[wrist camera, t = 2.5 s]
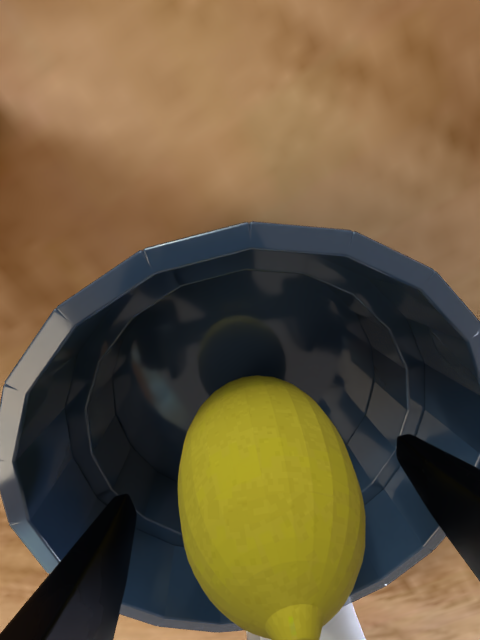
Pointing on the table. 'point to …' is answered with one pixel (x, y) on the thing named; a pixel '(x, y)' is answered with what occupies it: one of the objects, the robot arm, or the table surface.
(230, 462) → the lemon
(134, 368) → the bowl
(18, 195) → the table surface
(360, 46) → the table surface
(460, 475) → the robot arm
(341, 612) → the spray bottle
